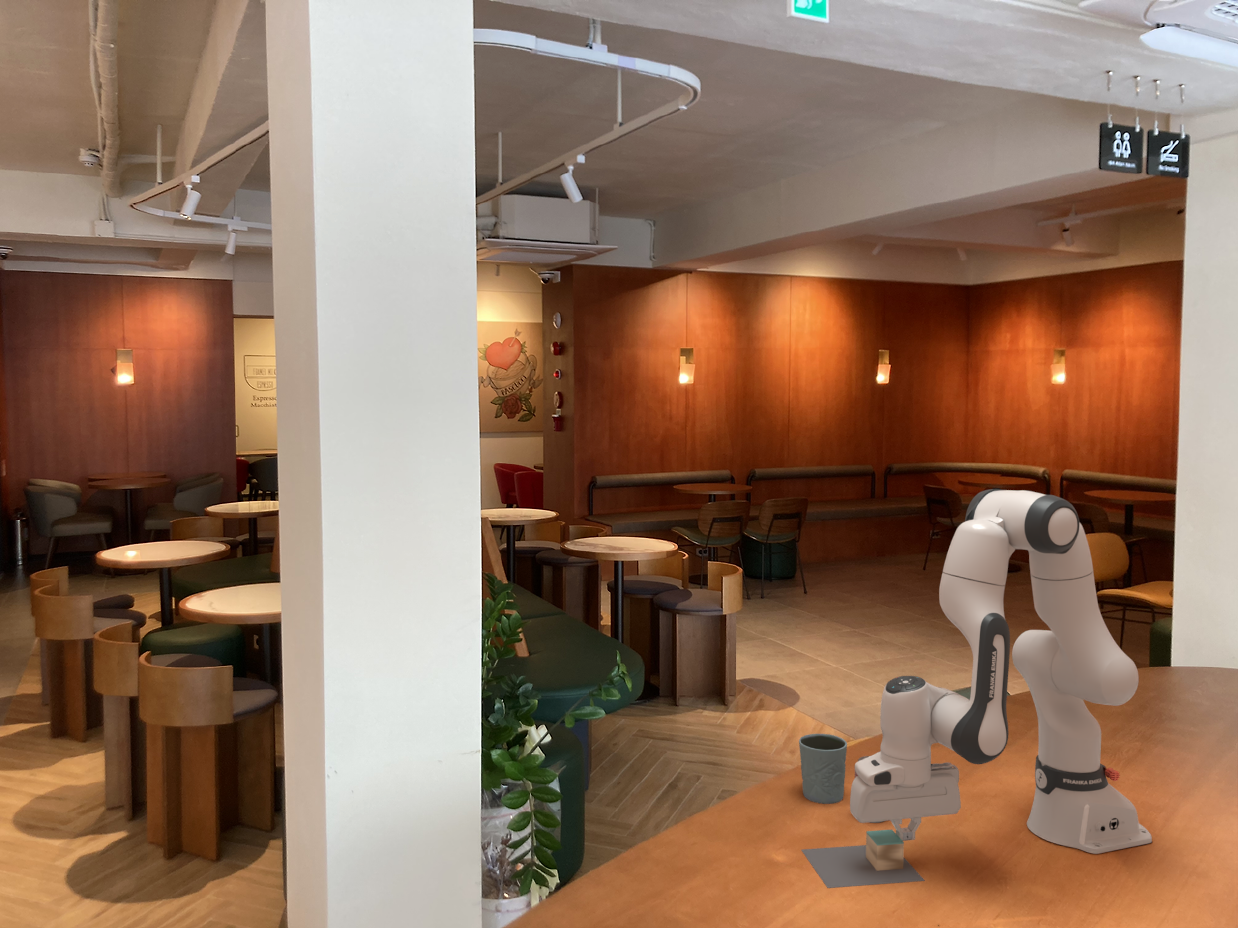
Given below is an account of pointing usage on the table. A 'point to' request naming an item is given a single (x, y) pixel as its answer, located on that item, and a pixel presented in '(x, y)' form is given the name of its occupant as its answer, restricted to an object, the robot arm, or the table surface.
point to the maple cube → (884, 849)
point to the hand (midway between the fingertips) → (905, 839)
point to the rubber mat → (855, 868)
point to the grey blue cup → (823, 767)
